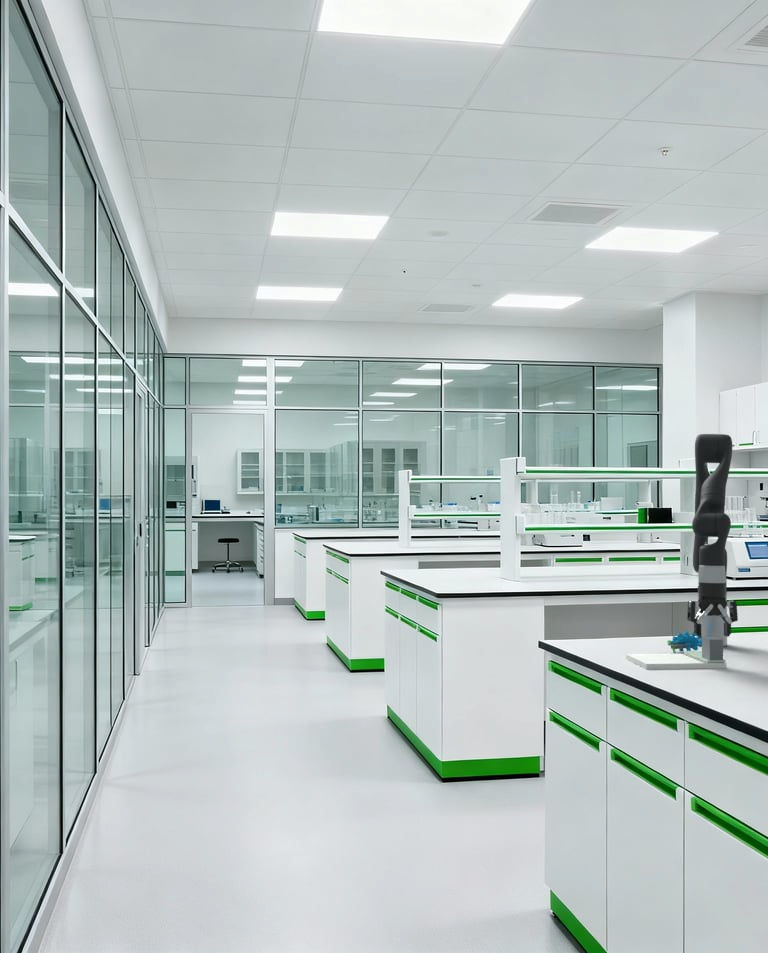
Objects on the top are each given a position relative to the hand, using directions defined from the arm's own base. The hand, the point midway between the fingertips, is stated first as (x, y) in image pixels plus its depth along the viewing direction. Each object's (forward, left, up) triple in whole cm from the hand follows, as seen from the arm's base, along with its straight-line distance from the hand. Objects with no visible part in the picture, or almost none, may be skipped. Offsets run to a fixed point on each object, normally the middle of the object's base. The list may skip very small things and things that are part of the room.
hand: (712, 636), depth 252 cm
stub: (-6, 0, -7) cm, 9 cm away
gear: (-23, +2, -9) cm, 24 cm away
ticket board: (-6, -9, -9) cm, 14 cm away
